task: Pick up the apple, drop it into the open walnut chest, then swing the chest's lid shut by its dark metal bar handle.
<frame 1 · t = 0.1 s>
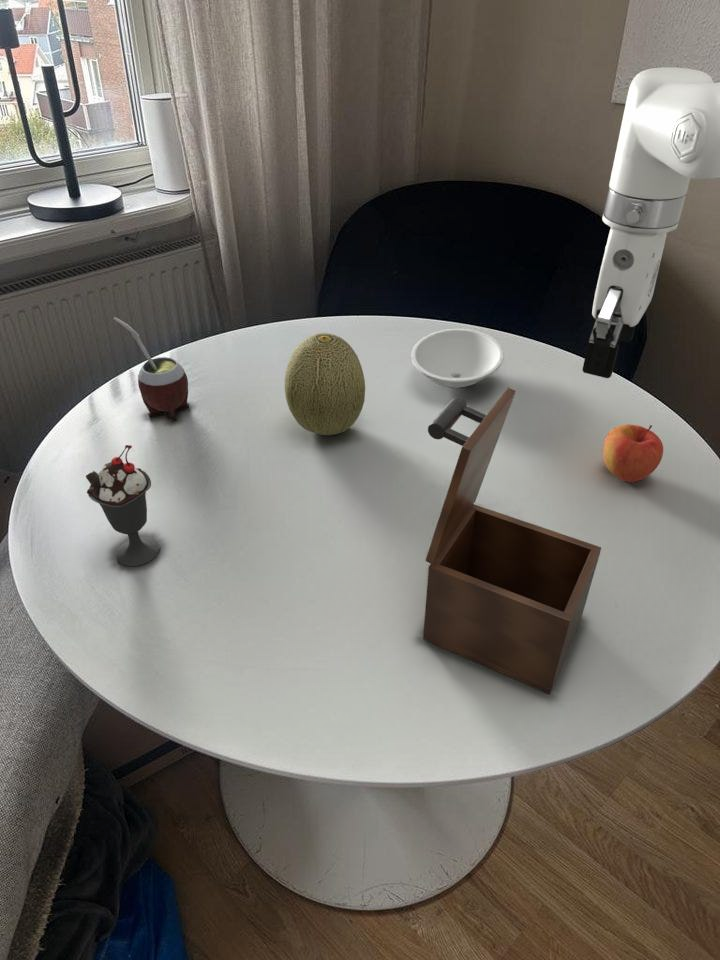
hand: (607, 356, 83), 18 cm above the table, tool pointing down, fingers open, 9 cm apart
dish: (455, 381, 115), on the table
fruit: (326, 429, 104), on the table
lid: (450, 468, 66), point 19 cm above the table, hinge at 80.0°
sundae: (138, 552, 84), on the table
apple: (624, 476, 95), on the table
chest: (502, 629, 74), on the table
mate gourd: (166, 412, 108), on the table
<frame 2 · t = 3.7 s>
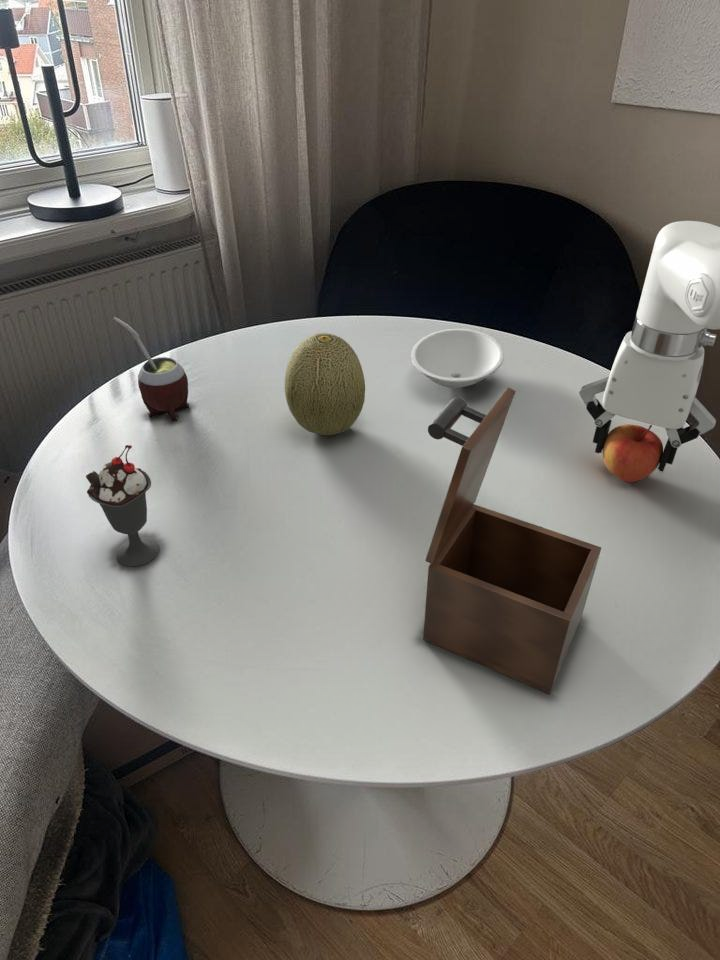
hand: (630, 456, 93), 3 cm above the table, tool pointing down, fingers closed on apple, 7 cm apart
apple: (624, 476, 95), on the table, touching gripper
everything else where it was.
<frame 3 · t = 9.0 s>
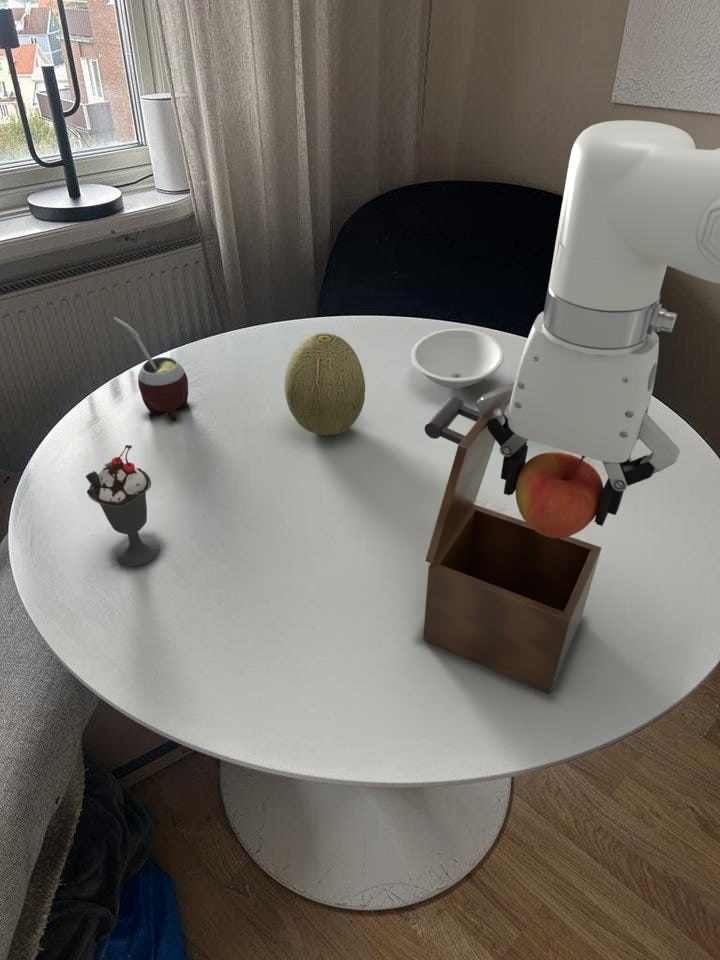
hand: (556, 499, 62), 19 cm above the table, tool pointing down, fingers closed on apple, 7 cm apart
lid: (448, 467, 66), point 19 cm above the table, hinge at 81.4°
apple: (550, 528, 64), point 15 cm above the table, touching gripper
everything else where it was.
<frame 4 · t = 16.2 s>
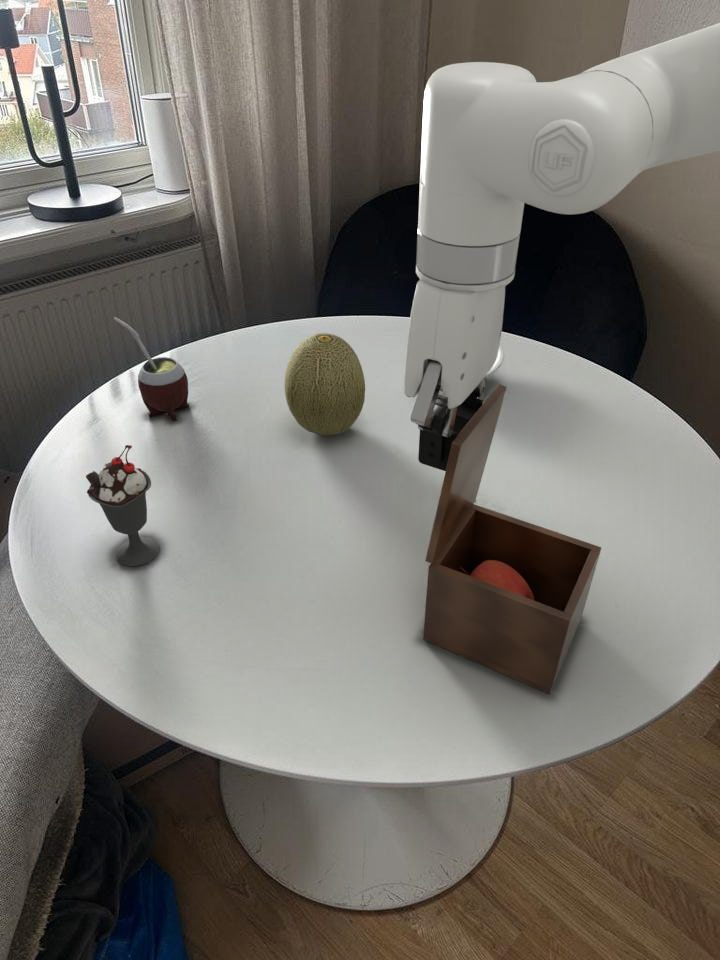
hand: (449, 447, 64), 21 cm above the table, tool pointing down, fingers closed on lid, 5 cm apart
lid: (445, 467, 66), point 19 cm above the table, hinge at 83.6°, touching gripper
apple: (530, 614, 71), point 4 cm above the table, touching chest
everything else where it was.
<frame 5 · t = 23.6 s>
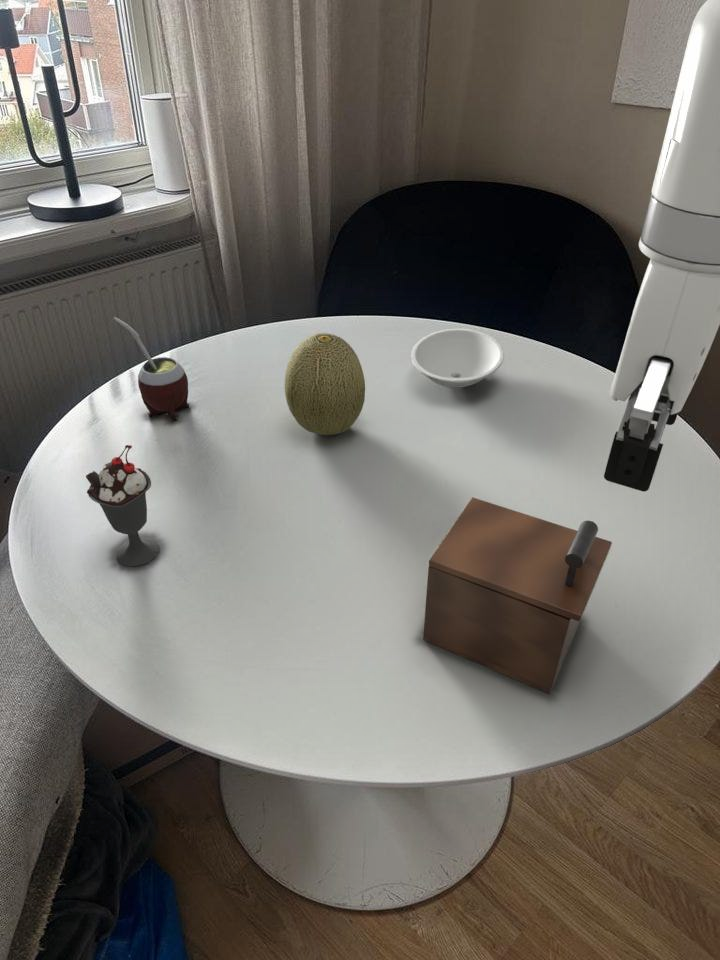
hand: (640, 449, 55), 26 cm above the table, tool pointing down, fingers open, 9 cm apart
lid: (523, 538, 66), point 13 cm above the table, hinge at 1.0°
everything else where it was.
at the end: apple inside the target area in the chest (2.5 cm from its centre), point 4.2 cm above the chest's base; lid at +1° (first picture: +80°) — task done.
